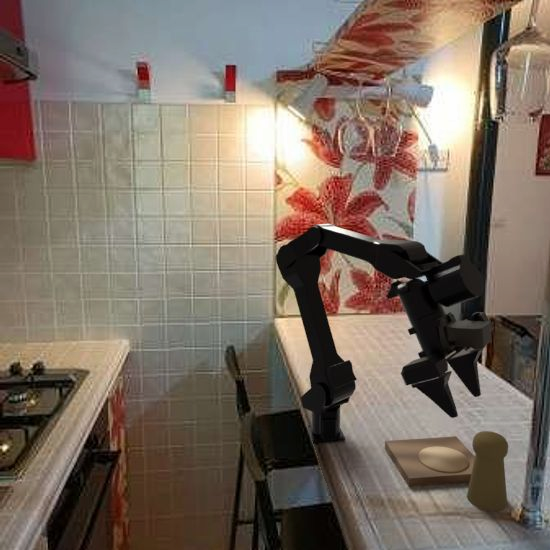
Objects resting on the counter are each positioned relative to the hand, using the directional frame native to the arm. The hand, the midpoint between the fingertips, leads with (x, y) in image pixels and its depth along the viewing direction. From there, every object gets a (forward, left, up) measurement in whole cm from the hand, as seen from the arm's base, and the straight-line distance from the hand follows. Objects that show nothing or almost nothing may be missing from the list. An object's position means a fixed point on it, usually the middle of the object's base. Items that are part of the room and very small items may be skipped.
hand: (466, 406), depth 86 cm
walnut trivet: (-9, -1, -15) cm, 17 cm away
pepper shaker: (+3, +3, -15) cm, 15 cm away
